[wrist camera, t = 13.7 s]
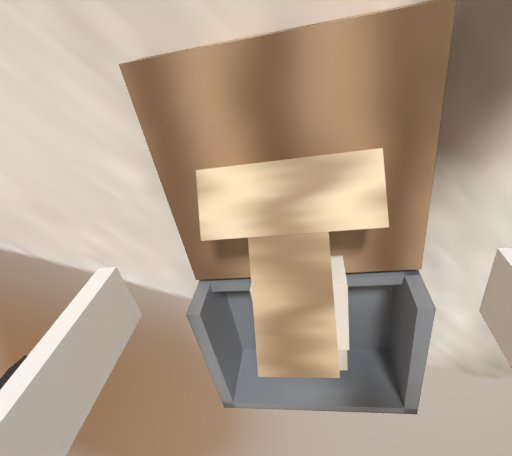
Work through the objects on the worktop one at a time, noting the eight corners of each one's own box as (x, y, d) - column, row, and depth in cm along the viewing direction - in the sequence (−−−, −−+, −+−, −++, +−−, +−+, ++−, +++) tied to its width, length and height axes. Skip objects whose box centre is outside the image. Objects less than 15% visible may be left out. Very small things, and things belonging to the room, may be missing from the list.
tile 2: (342, 255, 22) (347, 286, 19) (344, 316, 25) (349, 350, 22) (255, 260, 23) (249, 290, 20) (268, 318, 26) (264, 350, 23)
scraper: (387, 141, 15) (407, 378, 15) (373, 159, 19) (388, 347, 19) (186, 166, 17) (201, 375, 17) (212, 177, 21) (224, 347, 21)
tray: (408, 248, 24) (435, 308, 19) (398, 349, 30) (416, 414, 25) (207, 260, 27) (186, 314, 22) (236, 349, 34) (224, 407, 29)
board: (433, 0, 16) (457, -3, 14) (409, 243, 24) (421, 269, 21) (142, 58, 19) (118, 64, 17) (206, 255, 27) (196, 280, 25)
